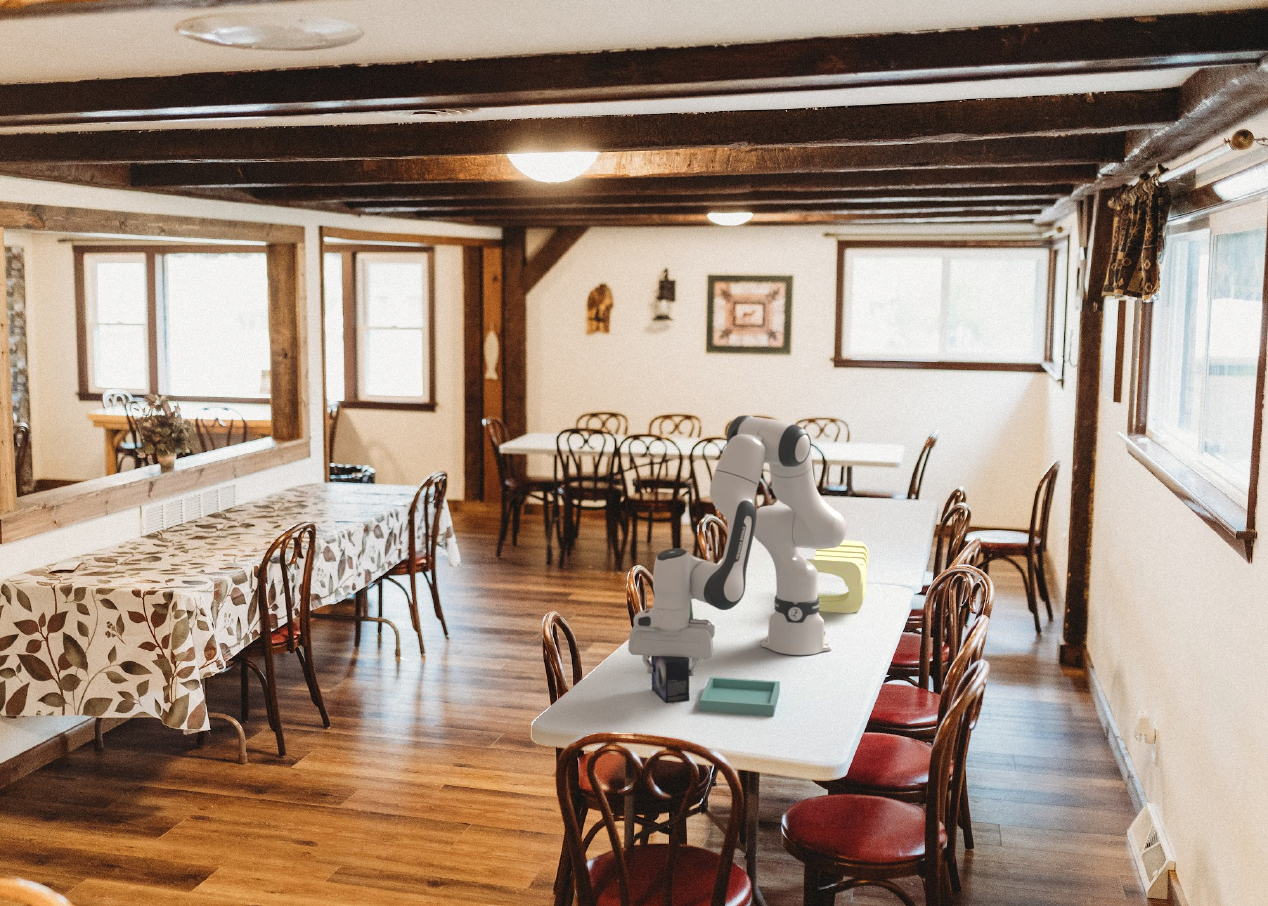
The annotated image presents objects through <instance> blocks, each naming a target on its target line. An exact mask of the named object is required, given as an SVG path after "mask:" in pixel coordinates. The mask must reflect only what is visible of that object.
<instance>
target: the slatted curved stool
mask: <svg viewBox="0 0 1268 906" xmlns="http://www.w3.org/2000/svg"><path fill="white" fill-rule="evenodd" d="M806 560H807V561H809V562H811V563H812V564H813V565H814V566H815V568H816V569H817V572H818V573H824V574H829V575H833V576H836V577H840V578H841V579H843V581H844V584H845V587H847V589H848V591H847V592H844V593H841V594H831V595H830V594H829V595H828V594H818V598H819V603H820V606H819V611H818V612H827V613H828V612H829V613H843V614H853V613H856V612H858V611H859V610H860V608H861V607H862V606H863V603H864V599H865V595H866V584H867V583H866V580H867V568H868V565H869V548H868V547H867V545H866V544H864V543H863V542H862V541H860V540H859V541H857V540H845V539H844V540H843V542H842V543H841V544H840V545H839V546H838V547H837V548H829V549H815V555H814V558H813V559H812V558H806Z"/></svg>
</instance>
